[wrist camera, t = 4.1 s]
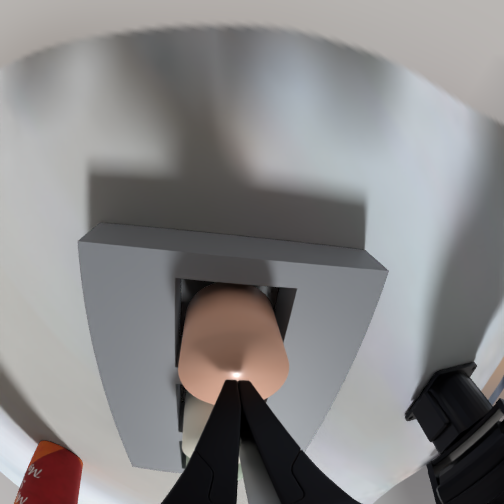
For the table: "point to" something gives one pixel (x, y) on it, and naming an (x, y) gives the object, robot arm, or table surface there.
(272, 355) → the pink button
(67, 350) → the table surface
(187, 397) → the cream button
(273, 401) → the grey flat board
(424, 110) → the table surface
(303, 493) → the robot arm
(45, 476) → the paper cup
